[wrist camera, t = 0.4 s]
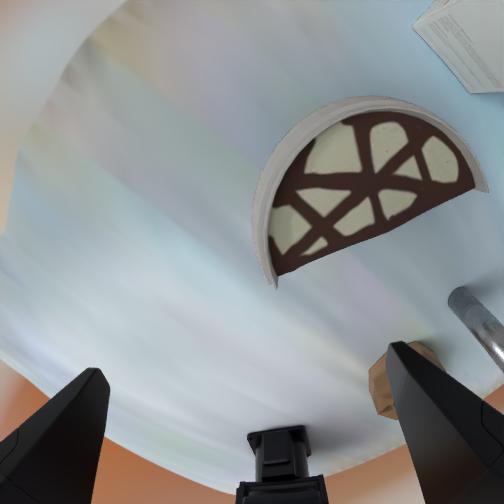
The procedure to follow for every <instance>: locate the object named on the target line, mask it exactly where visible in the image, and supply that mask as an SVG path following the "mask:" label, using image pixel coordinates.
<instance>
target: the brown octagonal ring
mask: <svg viewBox="0 0 504 504" xmlns="http://www.w3.org/2000/svg"><path fill="white" fill-rule="evenodd" d="M408 345H409V346H410V347H412V348H413V349H415V350H416V351H417V352H419V353H420V354H421V355H423V356H424V357H426V358H427V359H428V360H430V361H431V362H432V363H434V364H435V365H436V366H438V367H439V368H441V369H442V370H443V371H445V369H444V368H443V366H442V365H441V363H440V362H439V360H438V359H437V357H436V355H435V354H434V352H433V351H432V350H430V349H429V348H427V347H425V346H423V345H422V344H420V343H418V342H416V341H415V342H412V343H409V344H408ZM386 356H387V352H386V353H385V354H384V355H383V356H382V357H381V358H380V359H379V360H378V361H377V362H376V364H375V365H374V366H373V367H372V368H371V369H370V370H369V391H370V393H371V396H372V399H373V402H374V404H375V407H376V410H377V413H378V414H379V415H382V416H385V417H388V418H391V419H394V420H398V416H397V413H396V410H395V406H394V401H393V397H392V393H391V388H390V384H389V380H388V376H387V372H386V367H385V362H386ZM445 372H446V371H445Z"/></svg>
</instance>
